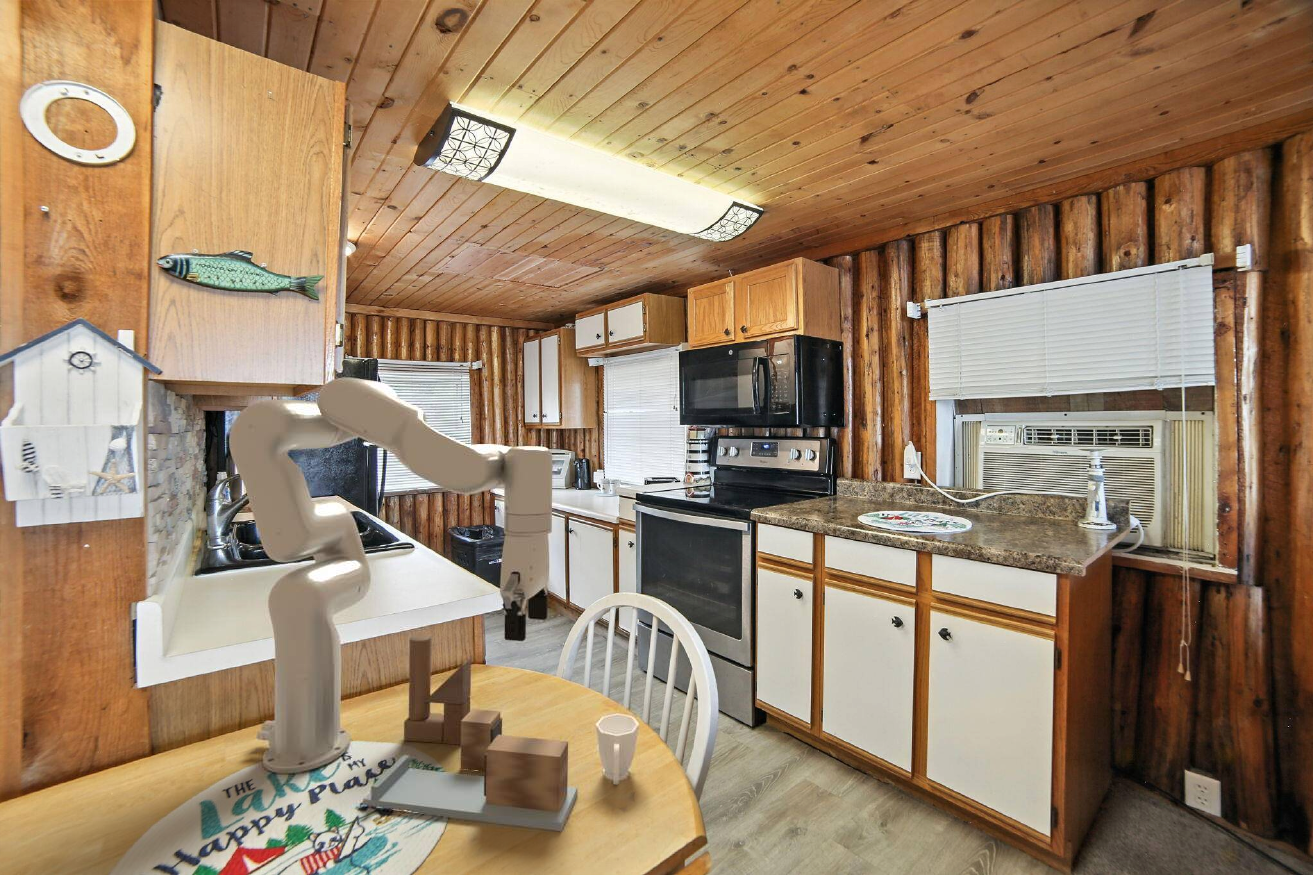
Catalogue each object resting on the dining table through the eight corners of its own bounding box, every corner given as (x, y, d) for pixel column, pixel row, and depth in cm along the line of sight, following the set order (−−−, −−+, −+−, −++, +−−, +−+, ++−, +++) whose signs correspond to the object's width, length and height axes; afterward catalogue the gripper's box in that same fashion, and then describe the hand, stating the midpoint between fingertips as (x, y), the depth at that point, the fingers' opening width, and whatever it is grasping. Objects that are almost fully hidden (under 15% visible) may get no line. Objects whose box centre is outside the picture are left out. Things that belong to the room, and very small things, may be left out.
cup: (637, 760, 96) (638, 712, 96) (638, 798, 86) (639, 745, 86) (596, 760, 96) (597, 712, 96) (592, 799, 86) (593, 746, 86)
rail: (363, 806, 83) (363, 785, 83) (395, 774, 91) (395, 754, 91) (561, 831, 79) (561, 808, 79) (577, 794, 87) (577, 773, 87)
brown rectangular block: (460, 769, 92) (461, 720, 92) (471, 755, 96) (472, 708, 96) (491, 772, 92) (492, 723, 92) (502, 758, 96) (502, 711, 96)
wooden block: (462, 745, 99) (463, 643, 99) (403, 741, 100) (404, 640, 100) (470, 734, 103) (472, 635, 103) (413, 730, 104) (414, 632, 104)
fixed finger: (483, 803, 82) (484, 748, 82) (494, 786, 86) (495, 734, 86) (558, 812, 81) (559, 756, 81) (567, 794, 85) (568, 741, 85)
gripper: (525, 514, 100) (524, 610, 101) (481, 531, 83) (480, 647, 84) (566, 515, 99) (565, 613, 100) (530, 533, 82) (529, 651, 82)
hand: (526, 628), depth 92 cm, fingers open, 9 cm apart
